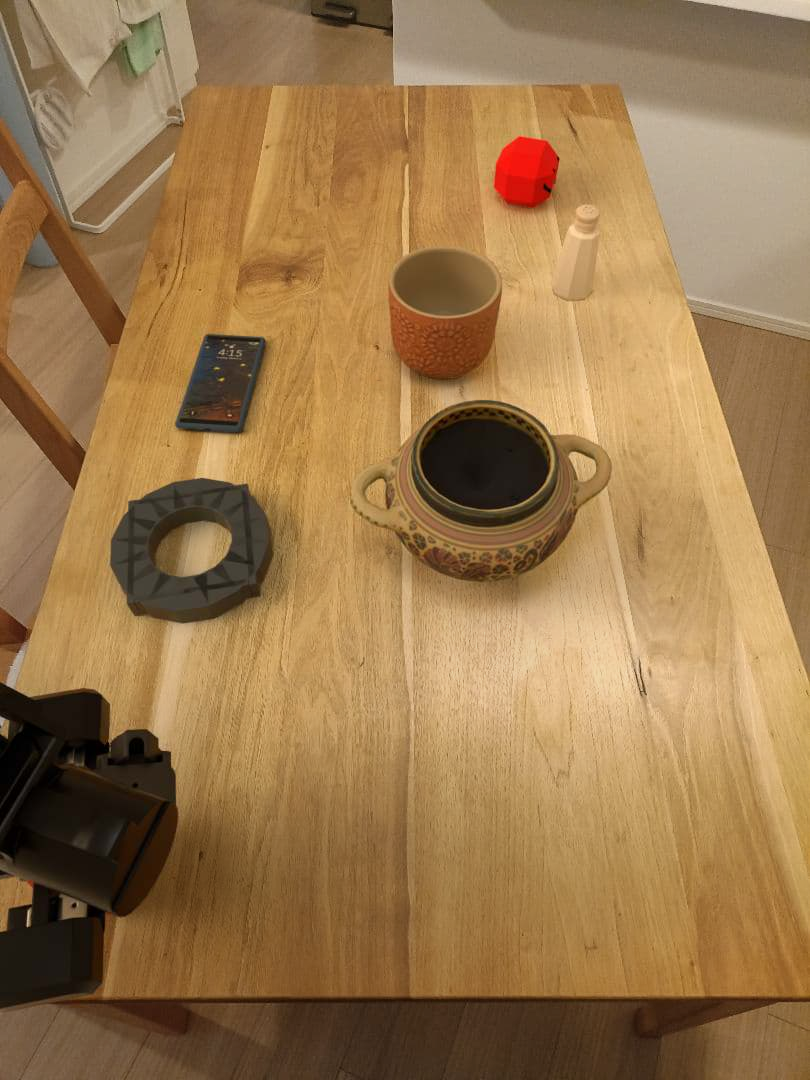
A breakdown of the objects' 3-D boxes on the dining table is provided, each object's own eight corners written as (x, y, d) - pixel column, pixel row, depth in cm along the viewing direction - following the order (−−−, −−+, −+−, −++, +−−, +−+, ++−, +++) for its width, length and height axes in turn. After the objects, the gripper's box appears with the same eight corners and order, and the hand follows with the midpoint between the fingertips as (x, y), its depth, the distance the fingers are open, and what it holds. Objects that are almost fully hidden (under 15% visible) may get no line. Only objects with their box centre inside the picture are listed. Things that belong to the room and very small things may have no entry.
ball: (544, 219, 107) (553, 167, 100) (488, 209, 108) (493, 156, 102) (556, 187, 111) (565, 135, 104) (502, 177, 112) (508, 125, 106)
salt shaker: (601, 294, 98) (621, 216, 89) (564, 306, 97) (581, 229, 88) (578, 269, 101) (595, 191, 91) (542, 281, 99) (556, 203, 90)
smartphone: (173, 425, 85) (204, 332, 93) (175, 430, 86) (206, 337, 94) (241, 429, 84) (266, 336, 93) (242, 434, 85) (267, 341, 93)
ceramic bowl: (574, 489, 84) (592, 368, 74) (626, 607, 71) (656, 479, 61) (352, 511, 83) (339, 390, 73) (363, 635, 70) (349, 509, 60)
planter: (508, 380, 90) (519, 305, 81) (406, 402, 88) (406, 328, 79) (473, 312, 96) (480, 235, 87) (378, 331, 94) (375, 255, 85)
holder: (116, 634, 72) (108, 622, 70) (120, 504, 80) (112, 490, 78) (278, 607, 73) (275, 595, 71) (265, 483, 82) (261, 468, 79)
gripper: (148, 963, 39) (214, 982, 52) (147, 634, 49) (203, 720, 62) (-82, 1010, 38) (44, 1018, 51) (-34, 664, 48) (61, 745, 61)
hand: (96, 861), depth 56 cm, fingers closed on beverage can, 6 cm apart
